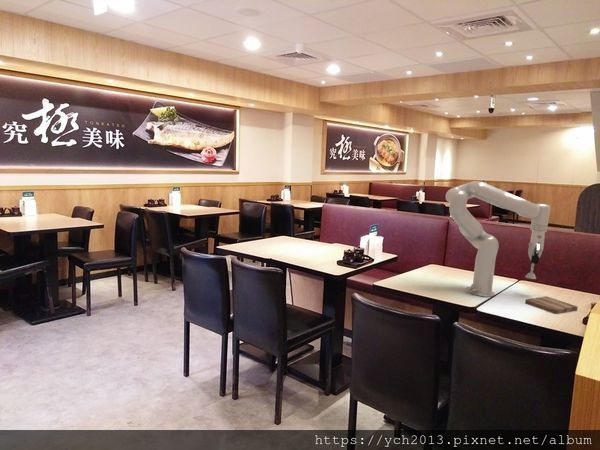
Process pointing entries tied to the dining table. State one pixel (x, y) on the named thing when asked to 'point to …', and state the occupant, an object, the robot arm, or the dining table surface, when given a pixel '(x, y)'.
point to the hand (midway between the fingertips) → (533, 261)
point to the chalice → (530, 253)
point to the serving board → (551, 305)
